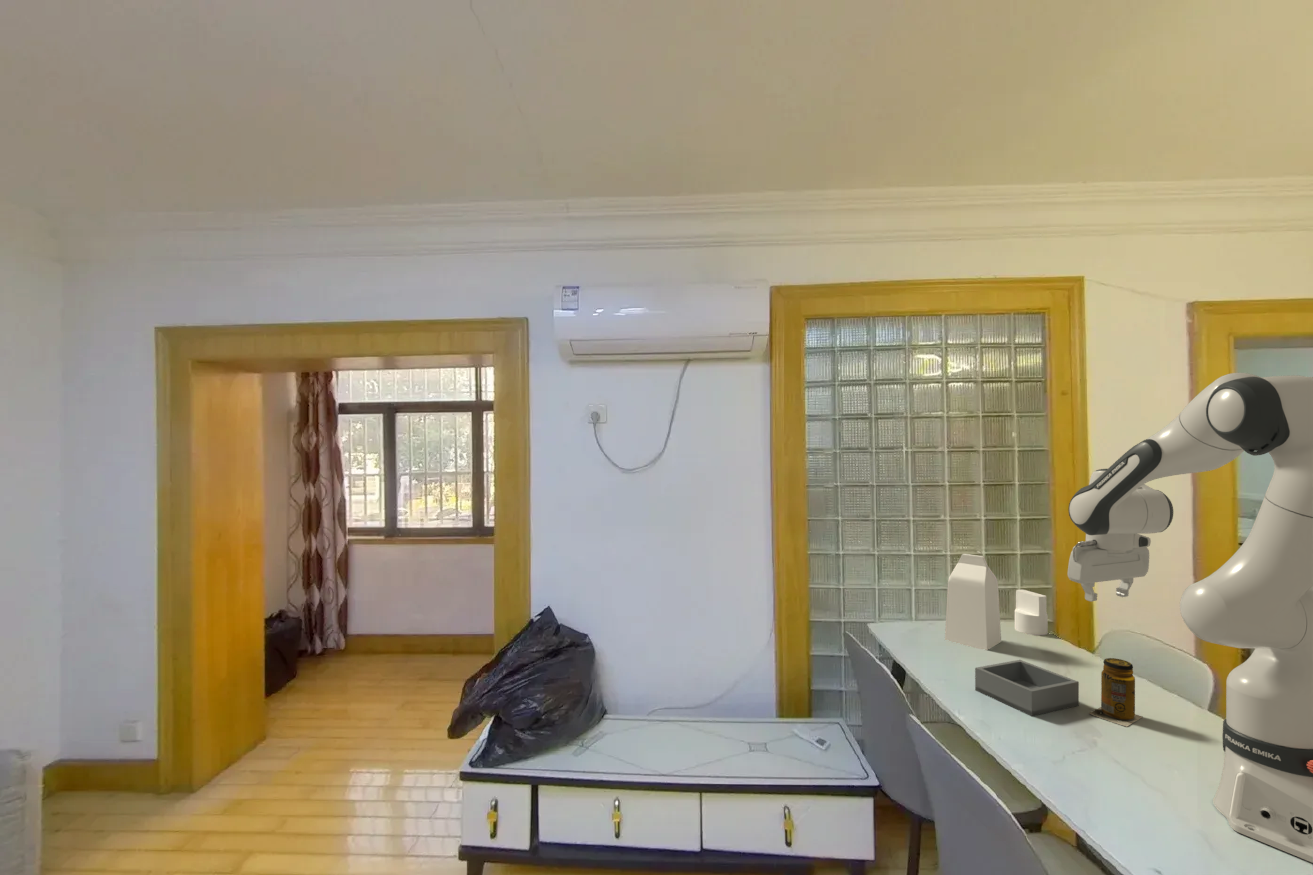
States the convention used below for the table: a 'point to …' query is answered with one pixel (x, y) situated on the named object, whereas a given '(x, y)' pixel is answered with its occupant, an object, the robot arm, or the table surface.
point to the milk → (973, 604)
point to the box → (1027, 687)
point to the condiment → (1117, 693)
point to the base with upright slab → (1031, 613)
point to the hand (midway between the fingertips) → (1106, 598)
